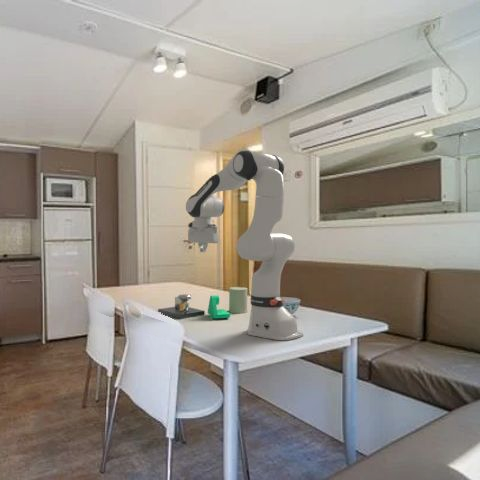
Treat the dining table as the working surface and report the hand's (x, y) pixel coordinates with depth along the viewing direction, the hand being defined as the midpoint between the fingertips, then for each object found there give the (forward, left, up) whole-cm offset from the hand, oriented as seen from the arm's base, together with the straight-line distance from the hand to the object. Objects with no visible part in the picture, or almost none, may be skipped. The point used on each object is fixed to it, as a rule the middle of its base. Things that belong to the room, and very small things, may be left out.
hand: (203, 252), depth 205 cm
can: (-13, -12, -29) cm, 34 cm away
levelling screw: (-5, +15, -27) cm, 31 cm away
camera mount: (-17, +4, -30) cm, 34 cm away
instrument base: (0, +13, -29) cm, 32 cm away
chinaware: (-35, -21, -29) cm, 50 cm away
